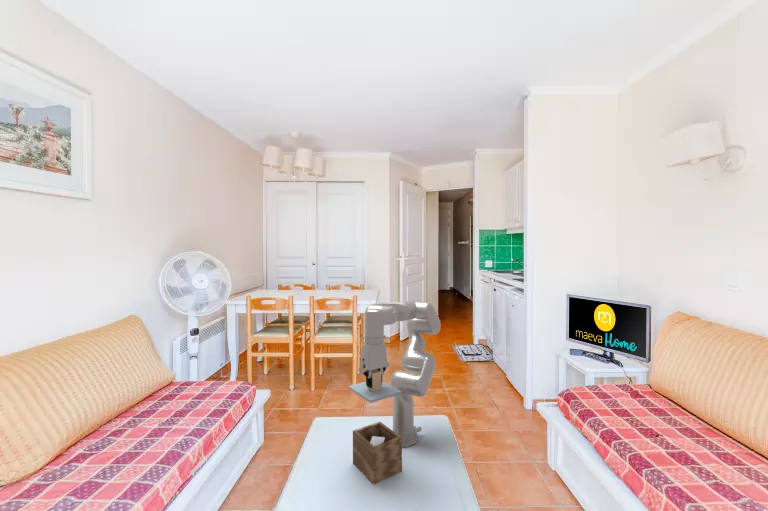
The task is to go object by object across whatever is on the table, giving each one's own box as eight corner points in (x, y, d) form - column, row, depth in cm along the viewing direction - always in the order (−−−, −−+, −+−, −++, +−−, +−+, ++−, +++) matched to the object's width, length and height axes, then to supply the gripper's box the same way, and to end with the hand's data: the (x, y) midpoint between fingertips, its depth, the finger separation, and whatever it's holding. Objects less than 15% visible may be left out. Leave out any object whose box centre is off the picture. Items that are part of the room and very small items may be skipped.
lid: (377, 383, 147) (377, 362, 147) (401, 396, 134) (401, 373, 134) (348, 391, 139) (348, 368, 139) (370, 406, 126) (370, 381, 126)
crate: (380, 452, 148) (380, 421, 148) (401, 471, 135) (401, 437, 135) (352, 463, 140) (352, 430, 140) (373, 484, 128) (373, 448, 127)
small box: (381, 474, 133) (381, 448, 133) (367, 473, 134) (367, 446, 134) (385, 462, 141) (385, 437, 141) (372, 460, 142) (372, 435, 142)
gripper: (386, 335, 144) (385, 378, 144) (351, 340, 135) (351, 387, 135) (396, 338, 138) (396, 384, 138) (361, 345, 129) (361, 393, 129)
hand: (374, 385), depth 137 cm, fingers closed on lid, 4 cm apart
